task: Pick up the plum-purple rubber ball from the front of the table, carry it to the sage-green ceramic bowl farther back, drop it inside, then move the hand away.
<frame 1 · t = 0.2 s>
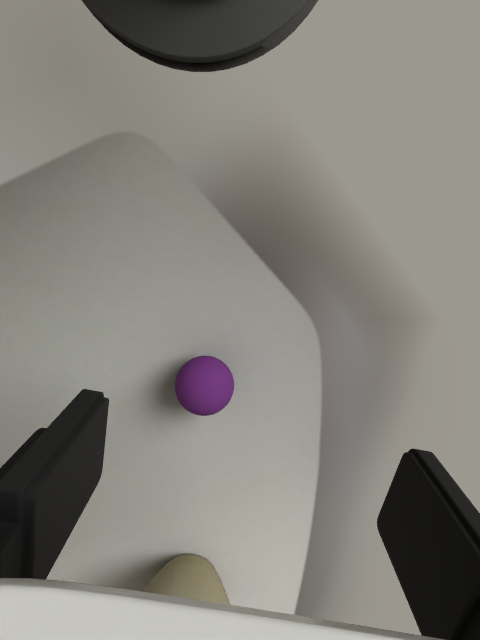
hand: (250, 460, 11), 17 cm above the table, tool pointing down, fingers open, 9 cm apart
flower pot: (190, 570, 35), on the table
ball: (207, 372, 28), on the table
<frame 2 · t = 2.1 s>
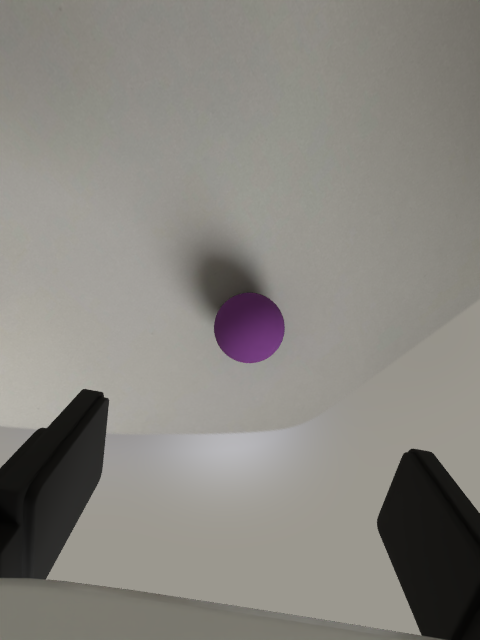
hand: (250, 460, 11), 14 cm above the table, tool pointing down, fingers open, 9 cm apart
ball: (249, 317, 24), on the table
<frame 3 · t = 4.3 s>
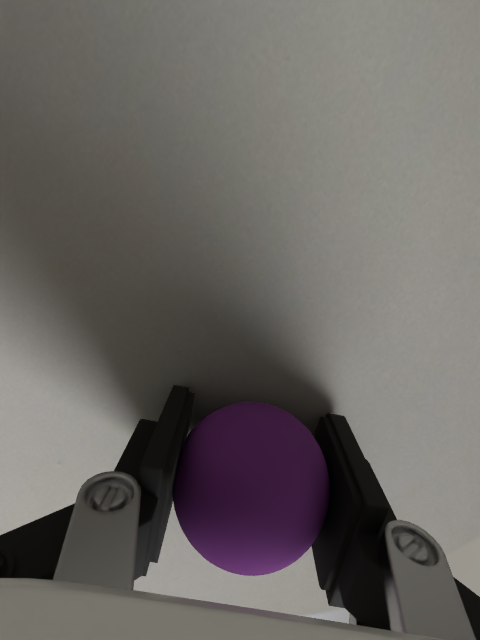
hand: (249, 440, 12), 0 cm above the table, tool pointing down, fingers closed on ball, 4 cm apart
ball: (249, 433, 12), on the table, touching gripper
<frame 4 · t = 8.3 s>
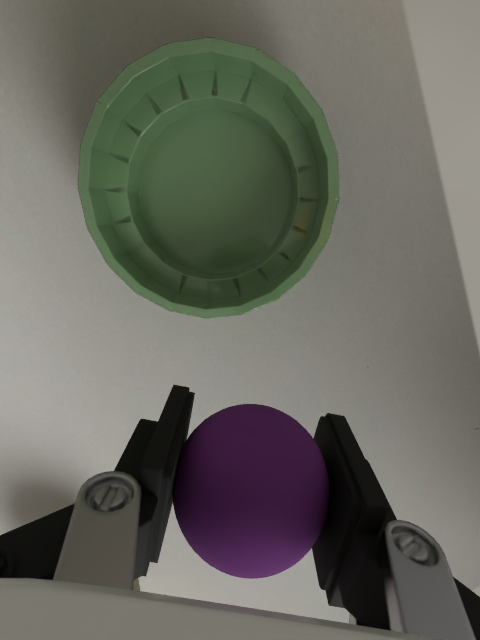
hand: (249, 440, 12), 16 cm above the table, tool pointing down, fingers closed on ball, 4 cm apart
bowl: (216, 197, 24), on the table
ball: (249, 436, 12), point 15 cm above the table, touching gripper
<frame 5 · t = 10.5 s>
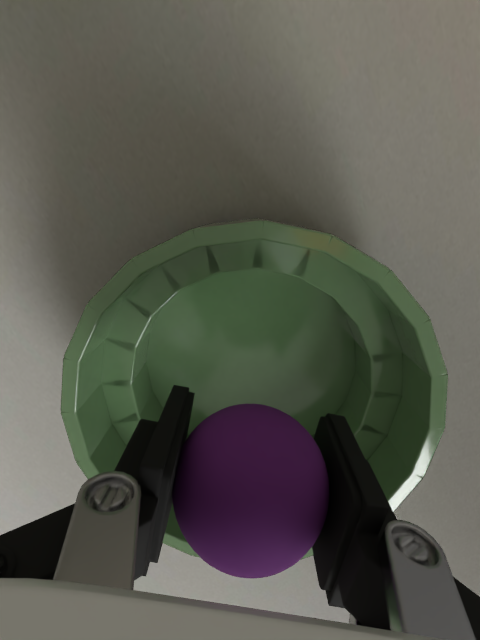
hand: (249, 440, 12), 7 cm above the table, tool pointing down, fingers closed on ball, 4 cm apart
bowl: (250, 360, 18), on the table
ball: (249, 435, 12), point 6 cm above the table, touching gripper
when the fingers open (2 cm above the table, at t = 12.2 s): ball drops 1 cm, resting on bowl.
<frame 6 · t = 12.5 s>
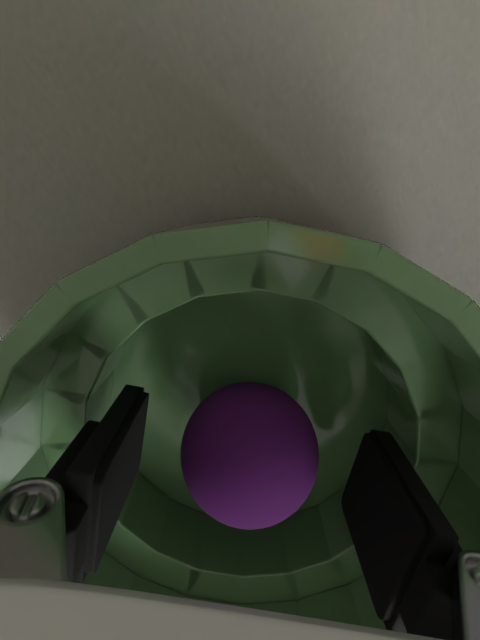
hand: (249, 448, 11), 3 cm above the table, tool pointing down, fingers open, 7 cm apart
bowl: (248, 403, 14), on the table
ball: (249, 413, 13), point 1 cm above the table, touching bowl
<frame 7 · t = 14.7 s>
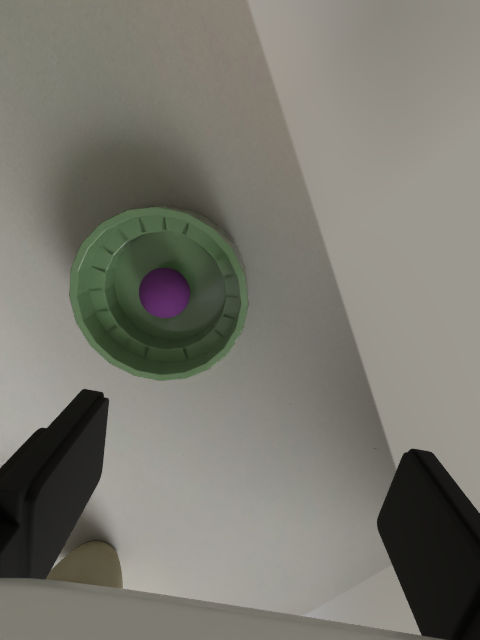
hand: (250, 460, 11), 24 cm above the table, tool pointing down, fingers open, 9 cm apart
bowl: (171, 285, 33), on the table
flower pot: (98, 553, 44), on the table
ball: (170, 287, 33), point 1 cm above the table, touching bowl
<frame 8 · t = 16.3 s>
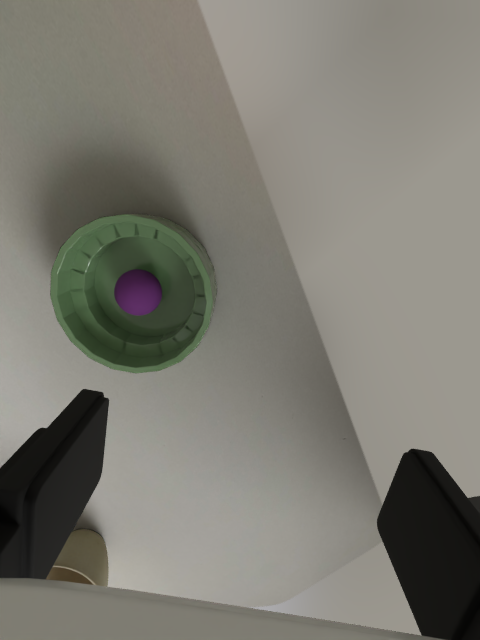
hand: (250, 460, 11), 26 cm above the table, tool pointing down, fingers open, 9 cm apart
bowl: (148, 286, 36), on the table
flower pot: (86, 541, 47), on the table
ball: (146, 288, 36), point 1 cm above the table, touching bowl
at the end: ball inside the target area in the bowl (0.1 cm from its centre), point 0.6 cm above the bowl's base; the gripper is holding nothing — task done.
